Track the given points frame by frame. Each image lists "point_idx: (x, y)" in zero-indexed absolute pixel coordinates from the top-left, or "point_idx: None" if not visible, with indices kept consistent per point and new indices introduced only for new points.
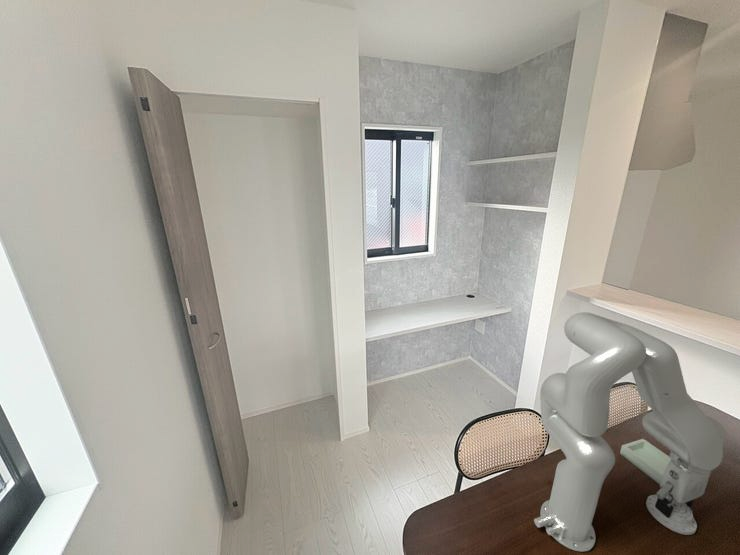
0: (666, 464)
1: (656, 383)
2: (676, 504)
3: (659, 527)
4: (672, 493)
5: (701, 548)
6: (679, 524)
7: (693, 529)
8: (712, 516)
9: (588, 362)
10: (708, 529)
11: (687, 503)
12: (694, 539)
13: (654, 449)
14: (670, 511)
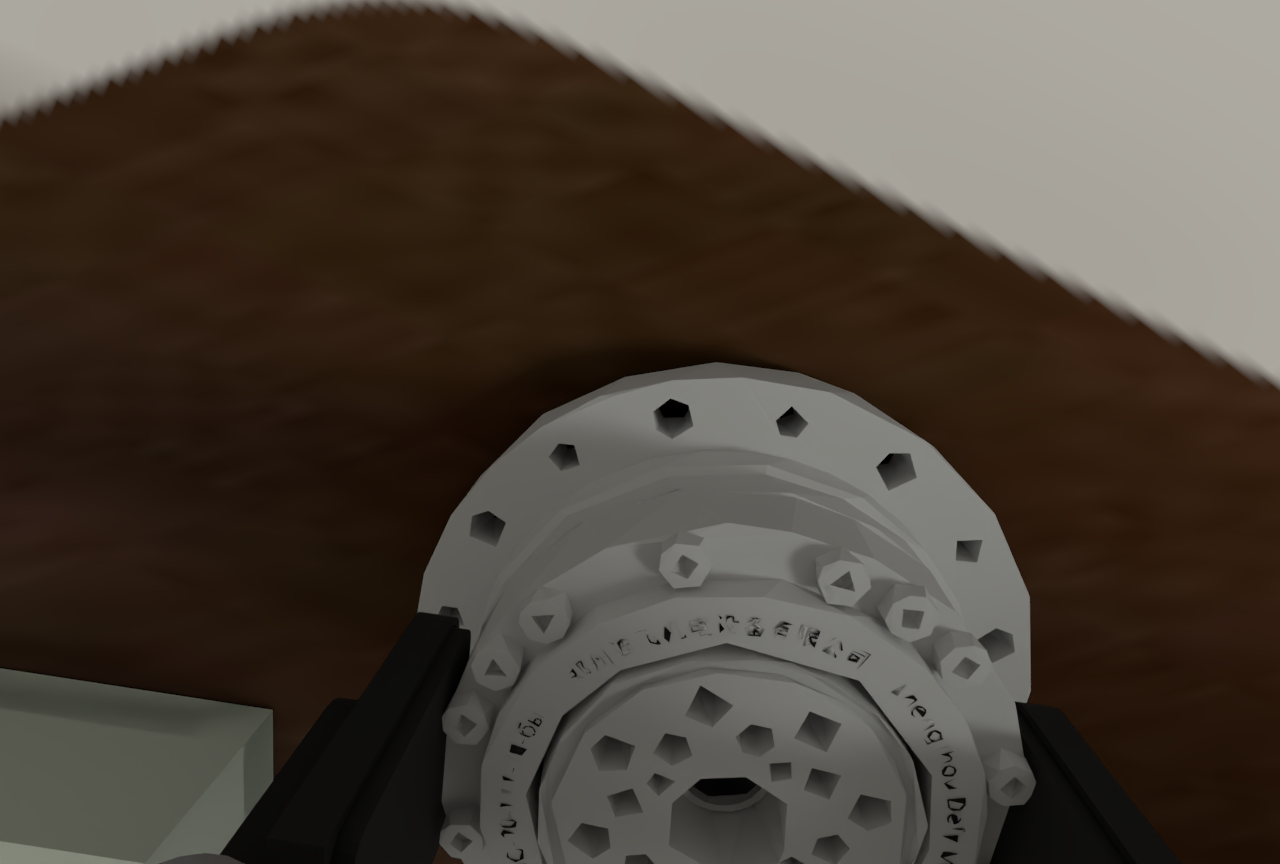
0: None
1: None
2: (669, 801)
3: (1074, 619)
4: (263, 761)
5: (904, 202)
6: (915, 547)
7: (737, 397)
8: (87, 357)
9: None
10: (407, 292)
11: (435, 730)
12: (821, 316)
13: None
14: (1159, 852)
